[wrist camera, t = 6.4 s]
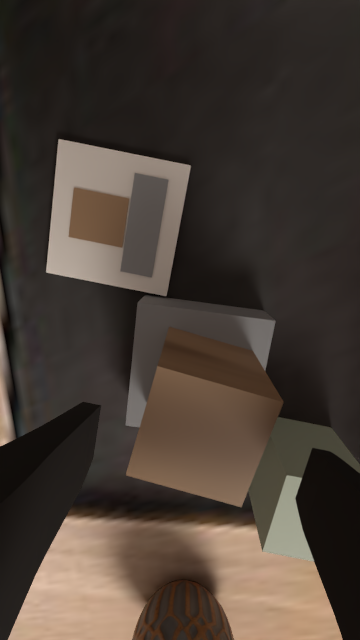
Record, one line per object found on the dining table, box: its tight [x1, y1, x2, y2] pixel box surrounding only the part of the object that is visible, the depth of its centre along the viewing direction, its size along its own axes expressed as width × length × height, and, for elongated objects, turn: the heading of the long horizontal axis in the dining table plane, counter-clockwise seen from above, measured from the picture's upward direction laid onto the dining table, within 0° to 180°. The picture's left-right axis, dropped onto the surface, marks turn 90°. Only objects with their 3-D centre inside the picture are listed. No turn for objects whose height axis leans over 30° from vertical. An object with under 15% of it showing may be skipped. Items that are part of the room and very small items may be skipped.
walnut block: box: [126, 327, 284, 507], centre depth 14 cm, size 4×4×6 cm
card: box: [46, 139, 191, 296], centre depth 17 cm, size 7×7×1 cm
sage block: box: [248, 417, 360, 561], centre depth 18 cm, size 4×4×6 cm
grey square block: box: [126, 295, 275, 427], centre depth 18 cm, size 7×7×3 cm
